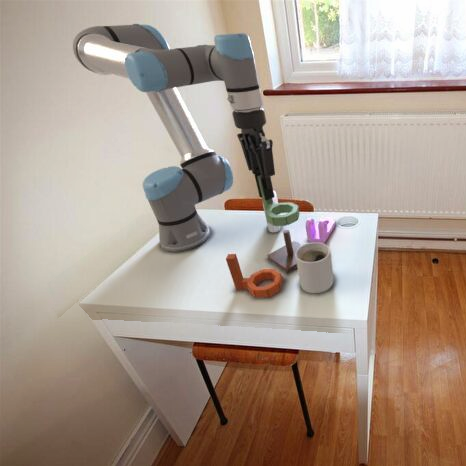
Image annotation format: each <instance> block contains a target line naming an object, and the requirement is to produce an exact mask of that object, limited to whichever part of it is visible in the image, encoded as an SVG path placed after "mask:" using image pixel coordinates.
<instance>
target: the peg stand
mask: <svg viewBox="0 0 466 466" xmlns="http://www.w3.org/2000/svg"><path fill="white" fill-rule="evenodd" d="M282 234H283V239H284V246H281V247H280V248H278V249H276V250H274V251H273V252H271V253H269V254H267V255H266V257H267V260H268V261H270V262H271V263H272V264H274V265H275V266H276V267H278V268H279V269H281V271H283V272H285V273H286V274H289V273H291V272H292V271H294V270H296V269H298V268H297V263H296V257H295V253H296V251H297V249H298V248H299V247H301V246H302V245H303V244H300V243H299V242H297V241H295V240H293V241H292V238H291V232H290V230H289V229H284V230H283V231H282Z"/></svg>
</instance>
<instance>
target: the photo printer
mask: <svg viewBox="0 0 466 466" xmlns="http://www.w3.org/2000/svg"><path fill="white" fill-rule="evenodd" d="M273 192H274V198H272V200H273V203H275V204H277V203H279V199H278V195H277V192H276V191H275V190H274V189H273ZM262 207H263V212H264V215H265V216H264V217H265V220H266V224H267V230H268V231H269V232H270V233H278V232H279V231H280V230H281V227H282V226H273V225H271V224H270V223H268V222H267V218H266V214H265V213H266V211H265V208H264V204H263V203H262ZM278 215H282V213H280V214H278Z"/></svg>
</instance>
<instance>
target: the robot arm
mask: <svg viewBox="0 0 466 466" xmlns="http://www.w3.org/2000/svg"><path fill="white" fill-rule="evenodd" d="M213 40H214V41H213V42H214V44H197V45H195V46H188V47H187V46H186V47H175V48H170V46H169V44H168V41H167V40H166V38H165V37H164V35H162V33H161V32H160V31H159V30H158V29H157V28H156V27H154V26H152V25H150V24H139V23H132V24H120V25H119V24H118V25H95V26H91V27H87V28H85V29H83V30H81V31H79V33H78V34H76V35H75V37H74V39H73V42H72V52H73V54H74V56H75V58H76V60H77V61H78V63H80V65H81V66H82V67H84V69H86V70H88V71H90V72H92V73H94V74H98V75H100V76H101V75H102V76H111V75H114V76H118V77H121V78H125V79H127V80H130V82H131V83H132V84H133V86H134V87H135V88H136V89H137V90H138V91H140V92H142V93H146V95H147V97H148V99H149V101H150V102H151V105H152V106H153V108H154V110H155V112H156V113H157V115H158V117H159V119H160V121H161V123H162V124H163V126H164V128H165V130H166V132H167V133H168V135H169V137H170V139H171V141H172V142H173V144H174V146H175V148H176V149H177V152H178V153H179V155H180V157H181V159H180V162H179V165H180V167H179V166H176V165H175V166H168V167H163V168H159V169H157V170H155V171H152V172H151V173H149V174H148V175H147V176H146V177H145V178H144V179H143V181H142V188H143V192H144V195H145V198H146V200H147V201H148V203H149V206H150V208H151V210H152V212H153V214H154V217H155V219H156V222H157V223H158V232H159V233H158V234H159V235H158V236H159V237H158V238H159V244H160V246H161V248H162V249H163V250H164V251H167V252H172V253H174V252H175V253H178V252H185V251H189V250H191V249H194V248H196V247H198V246H199V247H200V245H202V244H203V243H205V242H206V241H207V240H209V238H210V236H211V230H210V227H209V226H208V224H207V223H206V222H205V220H203V218H202V217H201V216H200V214H199V213H198V210H197V208H196V205H198V204H200V203H203V202H205V201H207V200H210V199H211V198H214V197H217V196H218V195H222V194H223V193H226V192H227V191H229V190H230V189H231V188H232V186H233V183H234V173H233V170H232V169H233V168H232V167H231V165H230V163H229V160H227V159H226V158H225V157H224V156H222V155H217V153H216V151H215V150H214V149H211V148H209V147H208V146H207V143H206V142H205V140H204V138H203V136H202V135H201V133H200V130H199V129H198V126H197V125H196V123H195V121H194V119H193V117H192V115H191V113H190V112H189V109H188V108H187V106H186V104H185V102H184V100H183V98H182V97H181V94H180V92H179V91H178V88H182V87H186V86H187V87H188V86H193V85H199V84H204V83H211V82H224V86H225V91H226V93H227V98H226V100H227V101H228V102H229V106H230V109H231V110H232V113H231V115H232V118H233V123H234V127H236V129H239V130H241V132H240V133H237V135H236V137H237V139H238V141H239V143H240V146H241V149H242V152H243V156H244V159H245V163H246V165H247V169H248V171H251V172H252V174H253V175H254V179H255V184H256V187H257V191H258V192H257V193H258V197H259V198H261V199H262V195H261V191H260V186H259V182H258V177H257V176H260V175H261V176H260V177H259V178H260V181H261V185H262V189H263V194H264V198H265V200H266V201H267V200H269V199H271V198H274V192H273V190H274V188H273V184H272V183H273V182H272V177H273V176H275V175H276V170H275V164H274V163H275V161H274V153H273V145H274V144H273V140H272V139H271V138H270V139H268V138H267V137H266V133H265V131H264V129H263V128H264V126H265V125H266V124H267V118H266V113H265V109H264V108H263V106H264V101H263V97H262V91H261V87H260V82H259V78H258V77H259V76H258V71H257V66H256V61H255V53H254V51H253V47H252V43H251V40H250V37H249V35H248V34H247V33H245V32H239V33H224V34H216V35H215V36H214V37H213Z"/></svg>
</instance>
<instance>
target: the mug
mask: <svg viewBox="0 0 466 466" xmlns="http://www.w3.org/2000/svg"><path fill="white" fill-rule="evenodd" d="M301 245H302V246H301V247H299V248H298V249H297V251H296V253H295V257H296V263H297V268H296V269H297V273H298V279H299V283H300V284H299V285H300V287H301V289H302V290H303V291H304V292H307V293H309V294H321V293H324V292H326V291H328V290H329V289H330V288H331V287H332V286H333V285H334V280H335V279H334V272H333V262H332V253H331V248H330V246H329V245H328V244H325V243H319V242H307V243H305V244H301Z"/></svg>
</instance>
